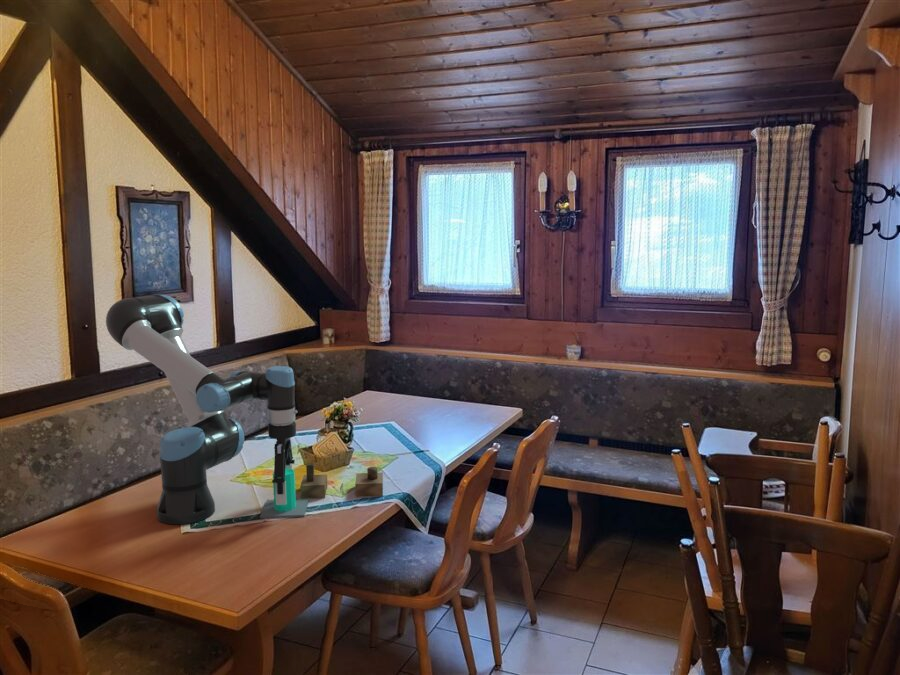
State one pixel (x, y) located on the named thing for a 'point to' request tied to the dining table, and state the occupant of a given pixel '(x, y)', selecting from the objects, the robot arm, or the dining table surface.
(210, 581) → the dining table surface
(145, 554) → the dining table surface
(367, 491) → the wooden peg blocks
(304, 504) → the coaster
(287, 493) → the candle
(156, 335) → the robot arm
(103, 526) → the dining table surface
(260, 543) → the dining table surface
